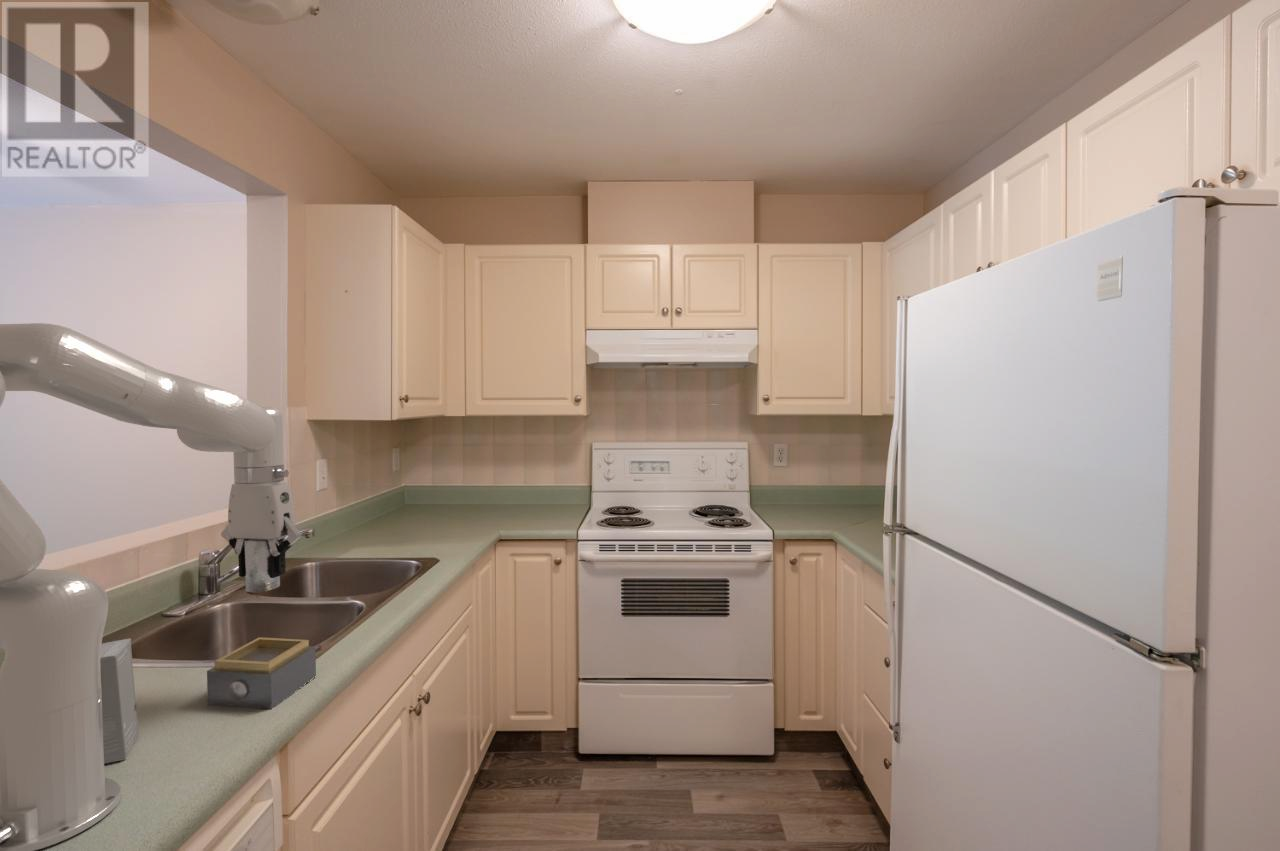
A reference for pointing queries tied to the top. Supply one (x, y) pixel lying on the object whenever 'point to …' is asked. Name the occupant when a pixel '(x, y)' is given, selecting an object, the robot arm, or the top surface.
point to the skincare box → (118, 700)
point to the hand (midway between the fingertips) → (262, 574)
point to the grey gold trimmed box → (261, 673)
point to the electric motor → (258, 566)
